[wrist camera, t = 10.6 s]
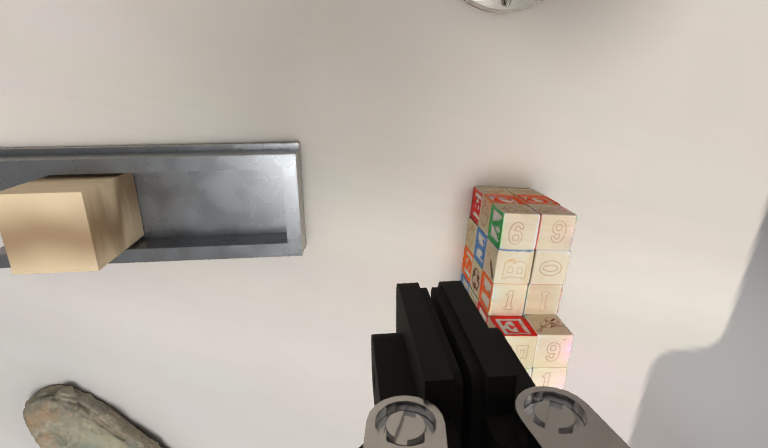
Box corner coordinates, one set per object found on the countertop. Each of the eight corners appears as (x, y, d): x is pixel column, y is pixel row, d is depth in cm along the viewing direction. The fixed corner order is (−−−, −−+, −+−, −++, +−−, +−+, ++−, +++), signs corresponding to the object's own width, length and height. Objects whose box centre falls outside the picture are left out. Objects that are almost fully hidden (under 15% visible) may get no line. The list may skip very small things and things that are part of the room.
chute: (-7, 148, 38) (-46, 155, 34) (299, 141, 40) (294, 148, 36) (23, 256, 41) (-9, 273, 37) (306, 244, 43) (302, 260, 40)
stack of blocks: (471, 184, 43) (519, 223, 31) (533, 187, 44) (602, 226, 32) (447, 370, 50) (479, 460, 38) (500, 371, 50) (548, 458, 39)
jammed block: (59, 171, 38) (-11, 194, 31) (132, 169, 39) (81, 192, 31) (75, 237, 40) (12, 274, 32) (144, 234, 40) (98, 270, 33)
